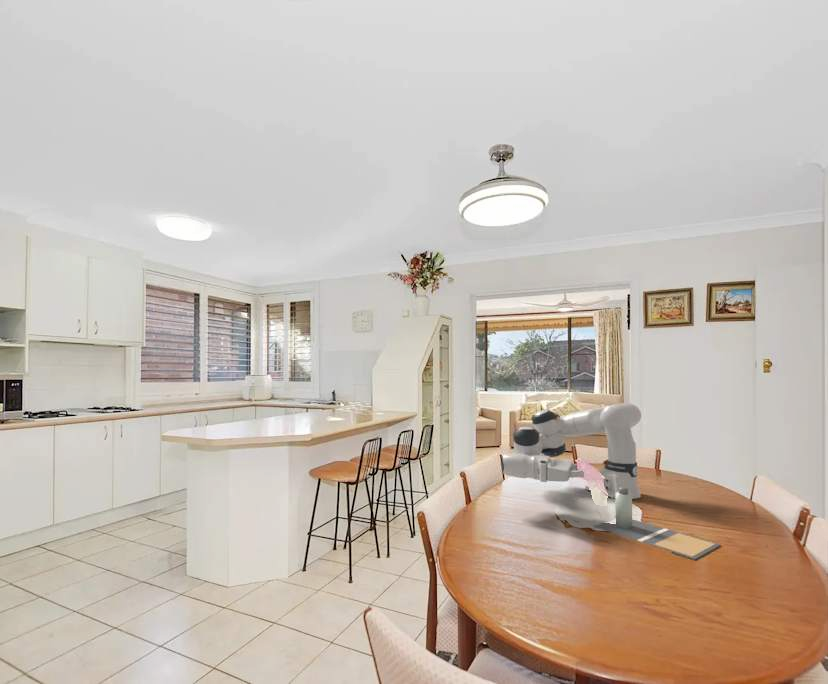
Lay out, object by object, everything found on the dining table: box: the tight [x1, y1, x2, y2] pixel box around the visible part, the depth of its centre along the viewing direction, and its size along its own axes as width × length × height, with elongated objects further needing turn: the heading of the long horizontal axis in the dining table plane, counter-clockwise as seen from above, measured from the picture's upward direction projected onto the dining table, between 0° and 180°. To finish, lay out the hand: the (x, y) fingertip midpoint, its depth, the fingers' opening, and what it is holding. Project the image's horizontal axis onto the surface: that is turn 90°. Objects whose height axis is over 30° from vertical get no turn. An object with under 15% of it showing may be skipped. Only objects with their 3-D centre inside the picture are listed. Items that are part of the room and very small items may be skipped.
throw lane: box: [593, 518, 721, 561], centre depth 148 cm, size 32×18×1 cm, turn 36°
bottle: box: [614, 487, 633, 529], centre depth 157 cm, size 5×5×13 cm
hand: (584, 471), depth 162 cm, fingers open, 8 cm apart
